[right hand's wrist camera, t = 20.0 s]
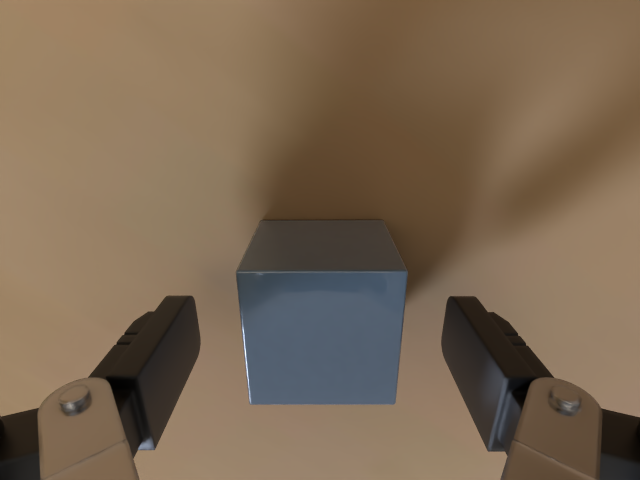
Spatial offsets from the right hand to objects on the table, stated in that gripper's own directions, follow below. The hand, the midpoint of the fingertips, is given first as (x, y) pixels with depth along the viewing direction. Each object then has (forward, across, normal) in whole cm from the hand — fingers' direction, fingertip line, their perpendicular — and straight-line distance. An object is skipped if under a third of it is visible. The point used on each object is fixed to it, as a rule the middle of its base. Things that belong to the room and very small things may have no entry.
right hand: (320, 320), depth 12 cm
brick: (+3, 0, 0) cm, 3 cm away
